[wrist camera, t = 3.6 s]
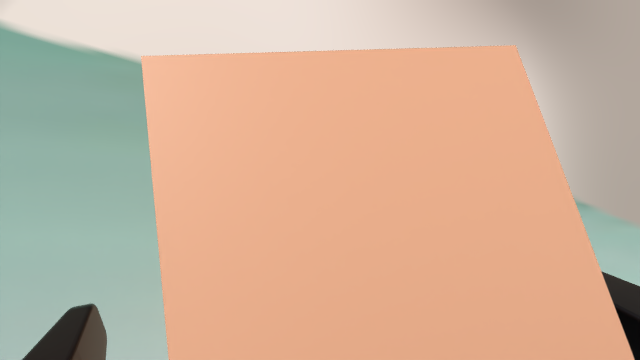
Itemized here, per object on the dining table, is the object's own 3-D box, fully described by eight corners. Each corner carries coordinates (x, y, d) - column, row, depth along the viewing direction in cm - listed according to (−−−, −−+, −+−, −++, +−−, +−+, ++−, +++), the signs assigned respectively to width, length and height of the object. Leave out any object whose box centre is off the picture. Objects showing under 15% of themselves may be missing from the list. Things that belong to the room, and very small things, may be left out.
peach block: (337, 329, 16) (660, 428, 4) (219, 359, 15) (193, 640, 3) (315, 218, 17) (514, 45, 5) (204, 236, 16) (141, 56, 4)
